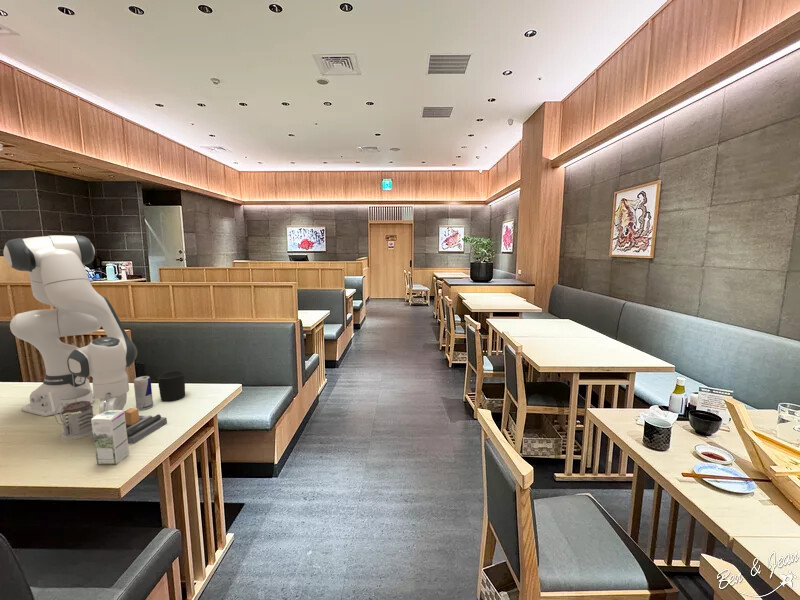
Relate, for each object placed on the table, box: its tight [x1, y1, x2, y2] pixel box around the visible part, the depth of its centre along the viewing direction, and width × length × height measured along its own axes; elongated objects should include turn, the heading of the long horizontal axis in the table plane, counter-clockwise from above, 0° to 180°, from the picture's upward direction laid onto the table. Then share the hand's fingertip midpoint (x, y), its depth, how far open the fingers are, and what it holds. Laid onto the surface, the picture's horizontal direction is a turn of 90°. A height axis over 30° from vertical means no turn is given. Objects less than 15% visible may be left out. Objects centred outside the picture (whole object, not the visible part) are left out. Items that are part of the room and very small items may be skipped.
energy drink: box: [133, 375, 154, 411], centre depth 140 cm, size 5×5×12 cm
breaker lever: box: [124, 407, 140, 427], centre depth 122 cm, size 3×3×5 cm
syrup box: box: [91, 409, 130, 465], centre depth 106 cm, size 6×6×14 cm
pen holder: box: [157, 370, 186, 403], centre depth 150 cm, size 9×9×10 cm
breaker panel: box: [126, 413, 168, 445], centre depth 123 cm, size 14×14×4 cm
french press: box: [54, 364, 94, 441], centre depth 120 cm, size 10×12×25 cm
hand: (116, 428), depth 117 cm, fingers closed
